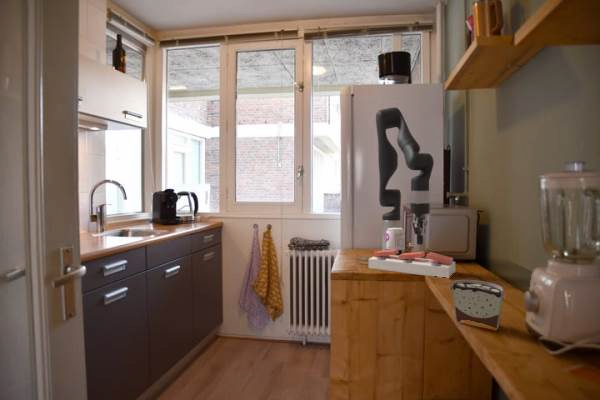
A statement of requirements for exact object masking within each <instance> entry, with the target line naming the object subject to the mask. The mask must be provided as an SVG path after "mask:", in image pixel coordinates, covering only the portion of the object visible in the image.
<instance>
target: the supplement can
mask: <svg viewBox="0 0 600 400" xmlns="http://www.w3.org/2000/svg"><path fill="white" fill-rule="evenodd" d="M395 249H398V250H399V253H398V254H395V255H391V256H399V255H401V254H403V253H405V230H404V228H402V227H401V228H388V229H387V231H386V250H395Z"/></svg>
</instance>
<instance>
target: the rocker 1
mask: <svg viewBox="0 0 600 400" xmlns="http://www.w3.org/2000/svg"><path fill="white" fill-rule="evenodd" d="M398 253H399V250H398V249H395V250H383V251H382V250H378V251H376V252H373V257H377V256H389V255H395V254H398Z"/></svg>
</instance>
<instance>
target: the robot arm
mask: <svg viewBox="0 0 600 400" xmlns="http://www.w3.org/2000/svg"><path fill="white" fill-rule="evenodd" d="M375 125H376V134H377V135H376V136H377V148H378V151H377V152H378V158H377V159H378V172H379V173H378V174H379V175H378V176H379V193H378V195H379V197H378V200H379V205H380V206H381V207H383V208H384V207H385V208H394V209H392V210H390V211H389V212H386V213H384V214H382V220H381V221H382V222H381V223H382V224H381V225H382V229H381V231H382V232H381V233H382V235H381V237H382V244H381V246H382V250H381V251H383V250H386V231H387V229H388V228H402V227H401V220H402V219H401V205H402V203H401V202H402V193H401V190H400V189H399V188H396V189H395V188H394V189H393V188H392V189H391V188H390V189H387V186H388V183H389V182H390V179H391V178H392V177H393V176H394V174H395V173H396V171H397V169H398V166H399V163H398V161H399V159H398V158H399V157H398V152H397V150H396V148H395V147H394V146H393V145H392V144H391V142H390V140H389V138H388V136H387V130H389V129H394V128H397V129H398V134H397V137H396V141H397V146H398V147H399V149H400V151H401V152H402V153H403V155H404V159H405V164H406V167H407V168H408V169H409V170H411V171H419V174H418V175H416V176H413V177H412V178H411V180H410V197H409V198H410V199H409V202H410V203H409V204H410V205H409V206H410V207H409V209H410V214H413V215H414V218H413V222H412V227H413V233H414V234H415V236H416V244H417V245H418V246H419V245H421V246H423V244H424V235H425V234H426V230H427V224H428V221H427V218H426V215H429V214H430V213H431V206H430V205H431V203H430V202H431V199H430V198H431V197H430V195H431V194H430V178H431V175H432V172H433V168H434V161H435V160H434V157H433V156H432V154H431V153H427V152H421V146H420V144H419V143H418V142H417V140H416V138H414V136H413V135H412V133H411V131H410V128H409V126H408V125H407V122H406V120H405V118H404V116H403V113H402V111H400V109H399V108H398V107H388V108H384V109H383V108H382V109H380V110H377V112H376V114H375Z"/></svg>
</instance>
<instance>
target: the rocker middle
mask: <svg viewBox="0 0 600 400" xmlns="http://www.w3.org/2000/svg"><path fill="white" fill-rule="evenodd" d="M423 257H426V253H425V251H417V252H416V251H414V252H404V253H403V254H401V255H399V259H411V258H421V259H422V258H423Z"/></svg>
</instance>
